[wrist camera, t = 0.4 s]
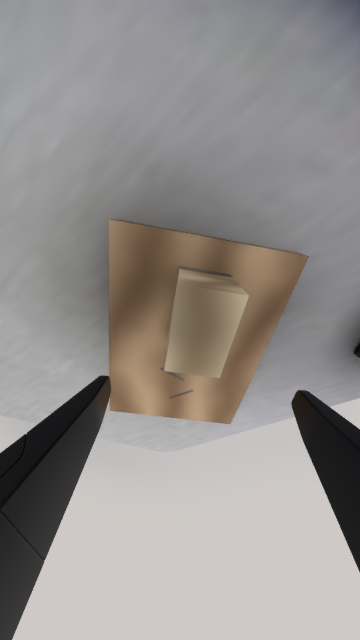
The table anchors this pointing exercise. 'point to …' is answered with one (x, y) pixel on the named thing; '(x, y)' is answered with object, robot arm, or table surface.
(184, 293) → the block
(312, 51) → the table surface
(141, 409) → the light brown wooden board
